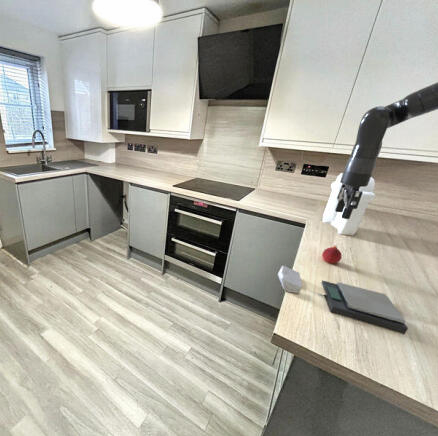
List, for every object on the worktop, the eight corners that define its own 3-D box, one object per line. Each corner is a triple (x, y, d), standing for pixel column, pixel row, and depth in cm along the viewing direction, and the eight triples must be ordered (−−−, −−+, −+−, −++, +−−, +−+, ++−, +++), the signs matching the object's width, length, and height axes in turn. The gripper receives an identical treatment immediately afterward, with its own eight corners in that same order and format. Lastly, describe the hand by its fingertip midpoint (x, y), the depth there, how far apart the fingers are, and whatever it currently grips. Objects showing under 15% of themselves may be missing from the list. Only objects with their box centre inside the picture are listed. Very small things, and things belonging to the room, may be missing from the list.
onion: (340, 269, 89) (347, 250, 86) (322, 265, 91) (329, 247, 88) (334, 262, 94) (341, 244, 91) (318, 258, 96) (324, 241, 93)
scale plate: (384, 296, 71) (385, 294, 71) (404, 323, 61) (405, 320, 60) (336, 284, 75) (337, 281, 75) (347, 307, 65) (348, 304, 65)
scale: (381, 301, 72) (385, 294, 71) (404, 334, 60) (409, 326, 60) (320, 285, 78) (322, 279, 78) (330, 312, 67) (333, 305, 66)
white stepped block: (367, 240, 117) (393, 180, 106) (342, 237, 118) (365, 178, 108) (337, 221, 142) (356, 171, 131) (316, 218, 143) (333, 169, 133)
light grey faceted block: (291, 301, 75) (302, 292, 71) (272, 290, 77) (281, 281, 73) (294, 278, 82) (304, 269, 78) (276, 269, 84) (285, 260, 80)
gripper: (380, 175, 73) (360, 223, 79) (364, 169, 85) (348, 211, 91) (351, 172, 76) (334, 218, 82) (339, 167, 88) (325, 208, 94)
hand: (341, 215), depth 87 cm, fingers open, 8 cm apart
